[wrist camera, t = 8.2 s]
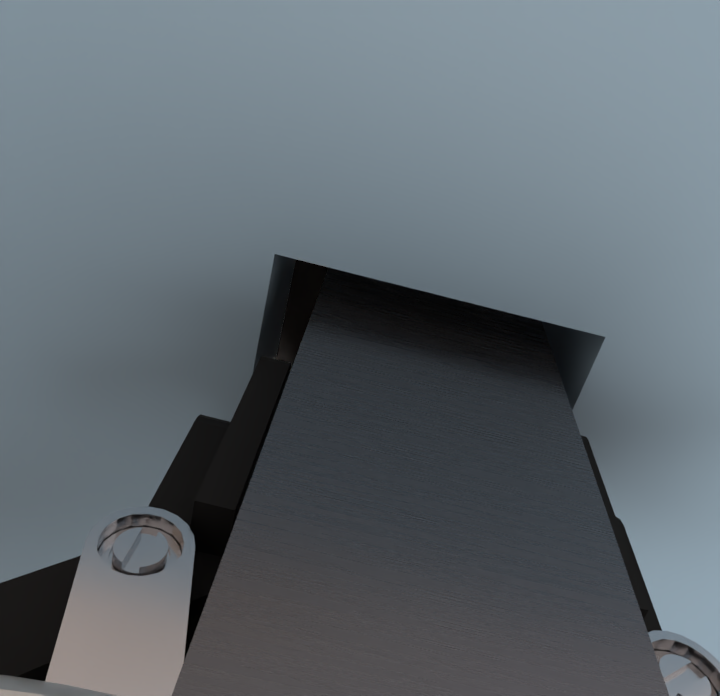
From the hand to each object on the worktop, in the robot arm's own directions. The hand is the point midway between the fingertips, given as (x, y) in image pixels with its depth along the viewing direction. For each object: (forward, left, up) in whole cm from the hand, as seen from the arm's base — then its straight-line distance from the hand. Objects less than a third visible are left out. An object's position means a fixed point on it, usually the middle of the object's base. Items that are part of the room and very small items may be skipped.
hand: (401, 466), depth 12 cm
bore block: (0, 0, -5) cm, 5 cm away
